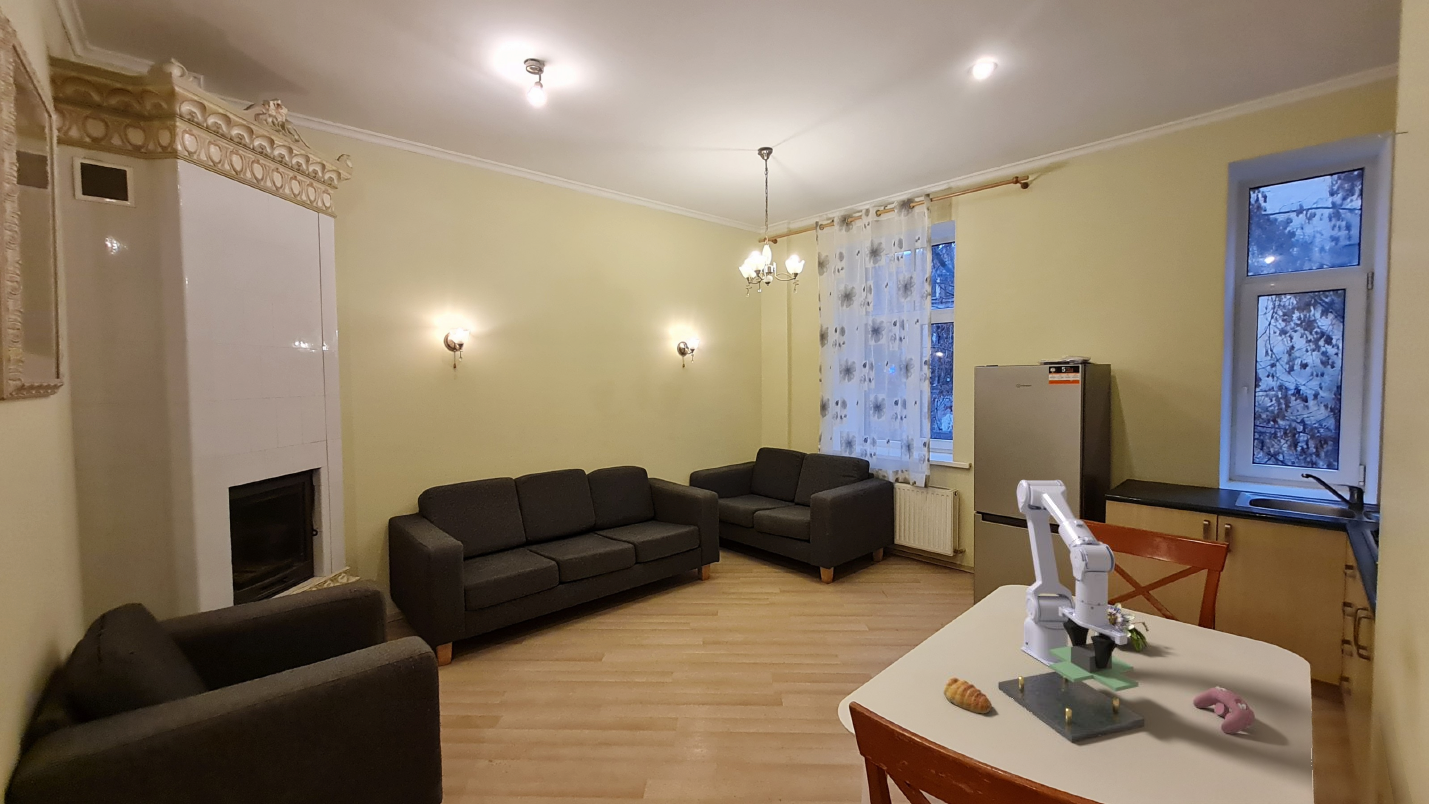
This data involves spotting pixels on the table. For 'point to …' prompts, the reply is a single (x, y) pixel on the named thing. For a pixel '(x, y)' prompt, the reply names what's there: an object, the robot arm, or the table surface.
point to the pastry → (966, 696)
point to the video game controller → (1227, 708)
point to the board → (1098, 676)
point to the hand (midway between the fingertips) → (1090, 661)
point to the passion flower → (1125, 625)
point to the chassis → (1070, 706)
